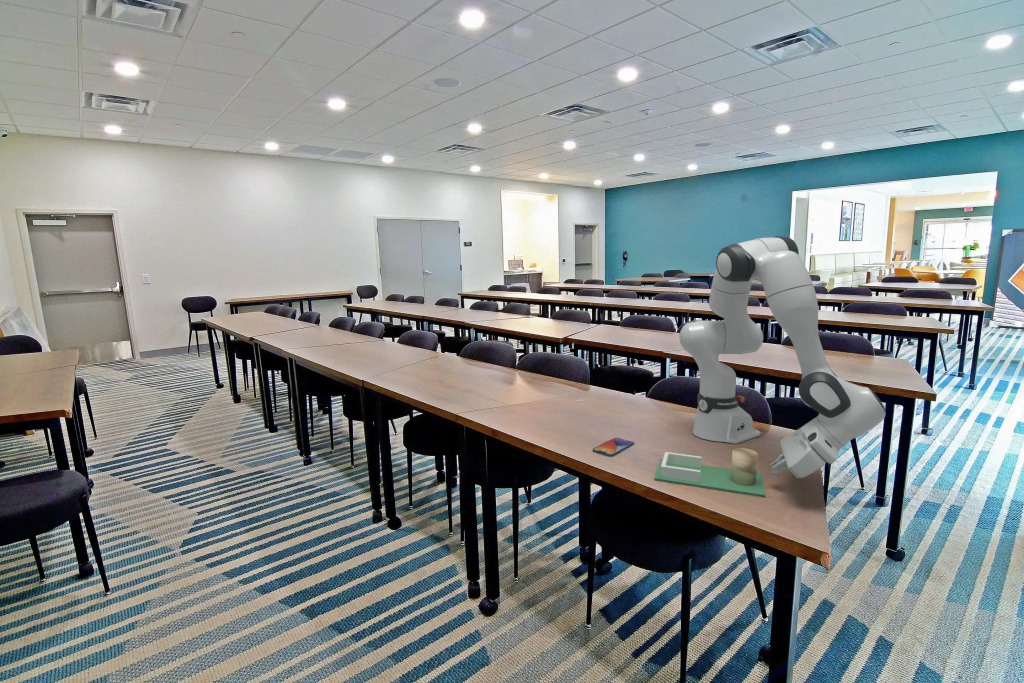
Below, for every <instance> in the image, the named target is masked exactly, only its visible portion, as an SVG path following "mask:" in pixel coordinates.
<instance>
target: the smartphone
mask: <svg viewBox="0 0 1024 683" xmlns="http://www.w3.org/2000/svg"><path fill="white" fill-rule="evenodd" d="M633 446H635V442H634V441H631V440H628V439H623V438H620V437H614V438H611V439H610V440H607V441H605V442H603V443H601V444H600V445H596V446H595V447H593V448H592V453H595V454H599V455H602V456H605V457H609V458H614V457H616V456H617V455H619V454H620V453H622V452H624V451H626V450H627V449H629V448H630V447H633Z"/></svg>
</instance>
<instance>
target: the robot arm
mask: <svg viewBox="0 0 1024 683" xmlns="http://www.w3.org/2000/svg"><path fill="white" fill-rule="evenodd" d="M799 253H800V252H799V247H798V245H797V243H796V242H795V240H793V239H792V238H790V236H783V235H782V236H780V235H779V236H777V235H776V236H772V237H759V238H758V237H757V238H754V239H751V240H746V241H742V242H740V243H739V242H738V243H731V244H728V245H726V246H724V247H722V248H721V249H720V250H719V252H718V254H717V256H716V258H715V259H716V261H715V264H716V265H715V267H716V268H715V271H714V274H713V278H712V281H711V282H712V283H711V287H710V293H709V298H708V307H709V308H710V309H711V311H712V312H713V313H714V314H715V315H716V316H718V317H721V318H722V319H723V320H697V321H691V322H686V323H685V324H684V325H683V326H682V328H681V329H680V332H679V335H678V336H679V338H678V339H679V343H680V345H681V347H682V348H683V350H684V351H685V352H687V353H688V354H689V355H690V356H691V357H692V358H693V359H694V362H696V364H697V366H698V370H699V392H697V409H696V416H695V421H694V423H693V428H692V430H691V431H692V434H693V435H694V436H696V437H697V438H700V439H703V440H707V441H712V442H720V443H721V442H724V443H729V444H734V445H735V444H736V445H737V444H739V443H742V442H745V441H747V440H751V439H754V438H756V437H759V436H761V432H760V431H759V430H758V429H756V428H755V427H754V423H753V422H754V421H753V418H752V416H751V414H749V413H748V412H746V411H745V410H744V409H743V408H742V407H740V406H739V402H740V403H744V402H745V401H746V400H745V396H742V395H739V394H738V395H736V386H737V375H736V371H735V370H734V369H733V368H732V367H731V366H728V365H727V364H725V363H723V362H721V361H720V360H719V355H744V354H745V355H746V354H751V353H755V352H758V350H759V349H761V347H762V345H763V341H764V334H763V330H762V329H761V327H760V326H759V325H758V324H757V323H755V322H754V321H753V320H752V319H751V317H750V315H749V313H748V304H749V298H750V294H751V290H752V289H751V288H752V284H753V280H758V281H759V282H760V283H761V284H762V287H763V291H764V295H765V299H766V301H767V304H768V307H769V310H770V312H771V314H772V316H773V317H774V319H775V321H776V322H777V324H778V325H779V326H780V327H781V329H782V330H783V331H784V332H785V333H786V335H787V336H788V338H789V339H790V340H791V341H790V342H791V343H792V345H793V348H794V352H795V355H796V358H797V361H798V363H799V366H800V370H801V379H800V383H799V386H798V395H799V397H800V400H801V401H802V402H803V403H804V405H806V406H807V407H809V408H811V409H813V410H814V411H815V412H818V415H817V416H816V417H814V418H812V420H810V421H808V422H807V423H805V424H804V425H802V426H801V427H799V428H798V429H796V430H794V431H792V432H791V433H789V434H788V435H786V436H784V437H783V438H782V439H781V440H780V441H779V443H780V444H779V445H780V447H781V450H782V451H781V452H782V454H779V455H778V457H777V458H776V459H775V461H773V462H771V463H770V469H771V471H772V472H773V473H774V474H778V473H780V472H782V471H785V470H789V471H790V472H791V474H792V475H793V476H794V477H795V478H797V479H802V478H806V477H807V476H809V475H811V474H813V473H815V472H817V471H818V470H820V469H821V468H823V467H824V466H825V465H826V463H828V464H829V465H832V463H833V464H834V463H835V462H836V461H837V459H838V454H839V452H840V450H841V449H842V448H844V447H846V446H847V445H848V443H849V442H850V441H851V440H853V439H855V438H858V437H861V436H863V435H865V434H866V433H867V432H869V431H871V430H872V429H874V428H875V427H876V426H877V425H878V424H880V423H881V422H882V421H883V420H884V419H885V417H886V407H885V406H884V404H883V401H881V399H880V398H879V397H878V395H877V394H876V393H875V392H874V390H872V389H871V388H869V387H867V386H862V385H858V384H854V383H852V382H850V381H847V380H844V378H843V379H842V378H840V377H839V376H838V375H837V374H836V373H835V372H834V371H833V370H832V369H831V368H830V365H829V363H828V361H827V358H826V354H825V352H824V350H823V349H824V348H823V346H822V343H821V340H820V339H821V338H820V334H819V327H818V326H819V304H818V298H817V293H816V289H815V286H814V283H813V281H812V277H811V276H810V273H809V271H808V269H807V266H806V265H805V264H804V261H803V260H802V258H801V256H800V255H799Z"/></svg>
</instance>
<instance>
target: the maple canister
mask: <svg viewBox="0 0 1024 683" xmlns="http://www.w3.org/2000/svg"><path fill="white" fill-rule="evenodd" d="M731 452H732V455H731V468H730V469H731V481H733V482H734V483H736V484H739V485H745V486H751V485H754V484H755V481H756V472H757V469H758V468H757V466H758V452H757V451H755V450H753V449H750V448H745V447H735V448H732V451H731Z"/></svg>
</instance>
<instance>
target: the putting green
mask: <svg viewBox="0 0 1024 683" xmlns="http://www.w3.org/2000/svg"><path fill="white" fill-rule="evenodd" d="M702 460H703V458H702V456H698V455H691V454H683V453H677V452H670V451H669V452H668V451H665V452H664V455H663V459H662V458H660V459H659V461H658V465H657V468H656V472H655V475H654V478H653V480H654V481H656V482H657V481H658V482H664V483H670V484H676V485H683V486H690V487H695V488H696V487H697V488H702V489H710V490H715V491H722V492H728V493H735V494H740V495H746V496H747V495H748V496H753V497H759V498H761V497H762V498H766V497H767V495H766V489H765V485H764V481H763V480H764V479H763V473H761V472H758V471H756V481H755V484H754V485H751V486H745V485H739V484H736V483H734V482H733V481H731V468H728V467H727V468H726V467H722V466H721V467H719V466H712V465H706V464H705V465H704V464H702V462H703V461H702Z"/></svg>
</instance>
